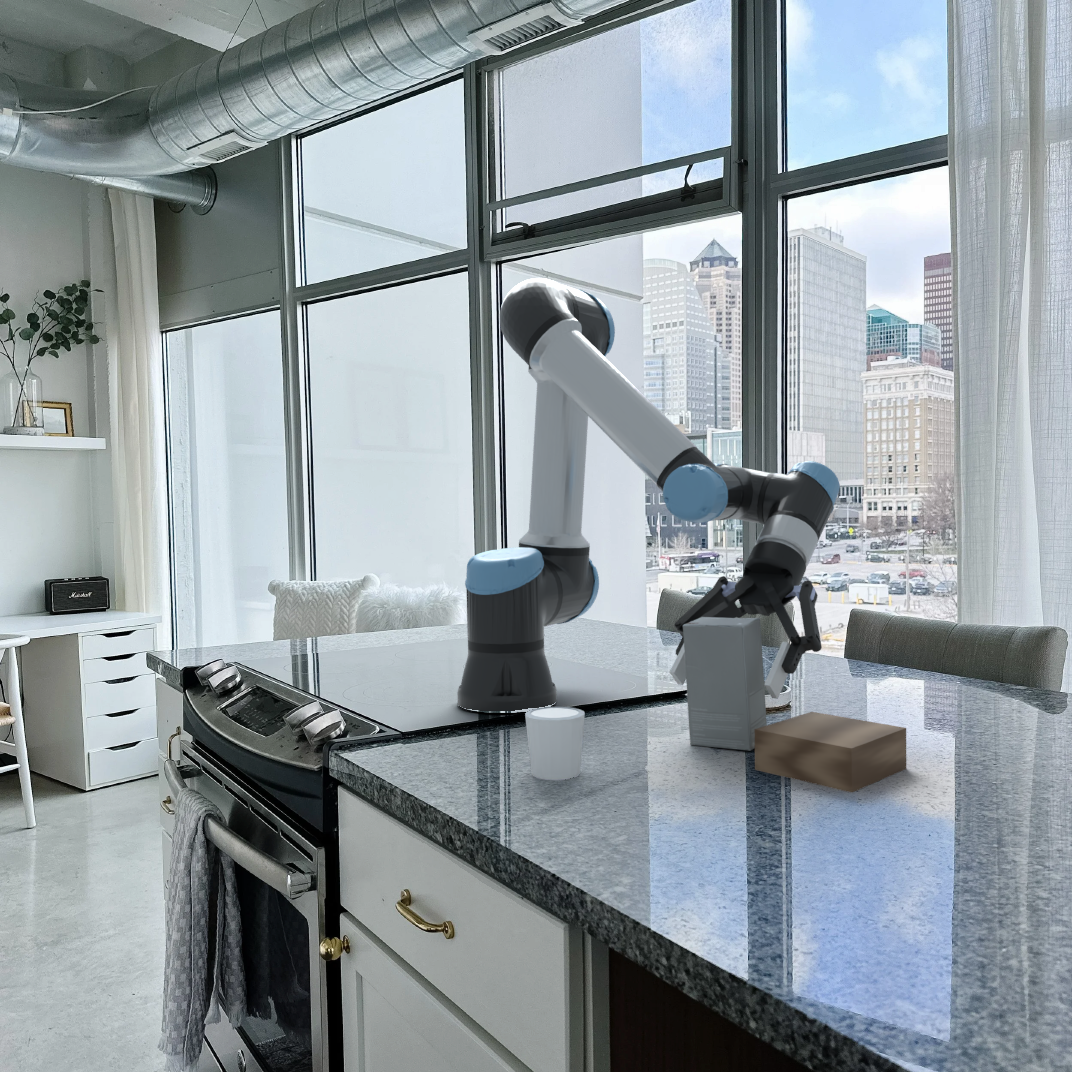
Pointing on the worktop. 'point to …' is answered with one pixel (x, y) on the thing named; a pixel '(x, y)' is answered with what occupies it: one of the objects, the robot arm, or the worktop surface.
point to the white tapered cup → (555, 742)
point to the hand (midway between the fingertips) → (721, 685)
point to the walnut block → (831, 750)
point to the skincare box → (724, 681)
